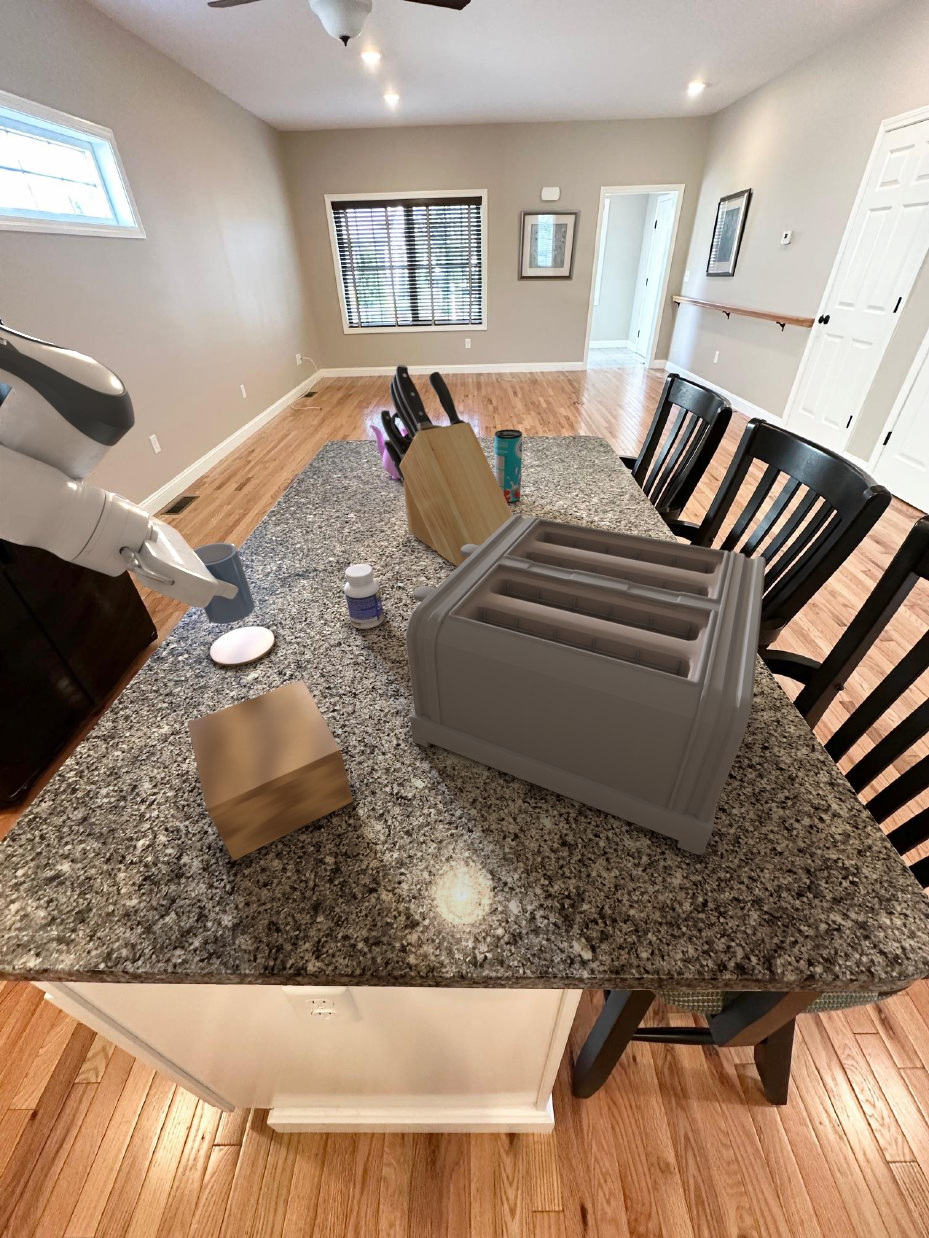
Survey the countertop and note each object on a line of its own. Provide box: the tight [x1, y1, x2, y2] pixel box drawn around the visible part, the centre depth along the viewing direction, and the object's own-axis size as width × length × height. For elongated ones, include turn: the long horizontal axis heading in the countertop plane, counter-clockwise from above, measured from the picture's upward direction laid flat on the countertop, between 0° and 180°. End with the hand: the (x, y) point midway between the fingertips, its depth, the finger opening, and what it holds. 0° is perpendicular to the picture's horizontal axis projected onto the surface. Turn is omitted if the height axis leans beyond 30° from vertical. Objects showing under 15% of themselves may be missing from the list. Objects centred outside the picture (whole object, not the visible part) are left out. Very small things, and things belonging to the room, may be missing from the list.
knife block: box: [380, 364, 514, 568], centre depth 93 cm, size 11×35×31 cm, turn 33°
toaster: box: [405, 514, 767, 856], centre depth 60 cm, size 31×36×17 cm
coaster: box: [209, 625, 276, 667], centre depth 75 cm, size 9×9×1 cm
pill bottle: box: [343, 563, 385, 630], centre depth 78 cm, size 5×5×9 cm
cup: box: [193, 542, 256, 625], centre depth 69 cm, size 6×6×9 cm
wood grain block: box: [186, 678, 354, 861], centre depth 53 cm, size 12×12×8 cm
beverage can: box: [494, 428, 523, 505], centre depth 114 cm, size 6×6×15 cm
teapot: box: [369, 424, 408, 480], centre depth 131 cm, size 20×14×12 cm
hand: (225, 580), depth 70 cm, fingers closed on cup, 6 cm apart
